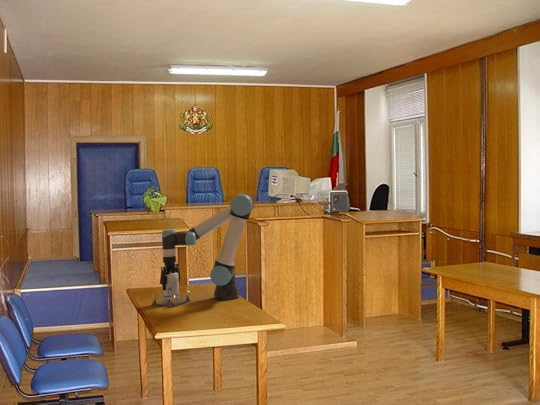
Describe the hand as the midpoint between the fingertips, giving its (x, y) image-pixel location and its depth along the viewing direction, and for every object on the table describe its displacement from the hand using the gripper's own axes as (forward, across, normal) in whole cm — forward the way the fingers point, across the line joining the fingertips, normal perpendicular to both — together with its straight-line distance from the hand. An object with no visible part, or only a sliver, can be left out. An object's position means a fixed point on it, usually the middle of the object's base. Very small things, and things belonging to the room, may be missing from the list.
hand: (170, 293), depth 357 cm
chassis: (+6, 0, 0) cm, 6 cm away
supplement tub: (+3, 0, 0) cm, 3 cm away
